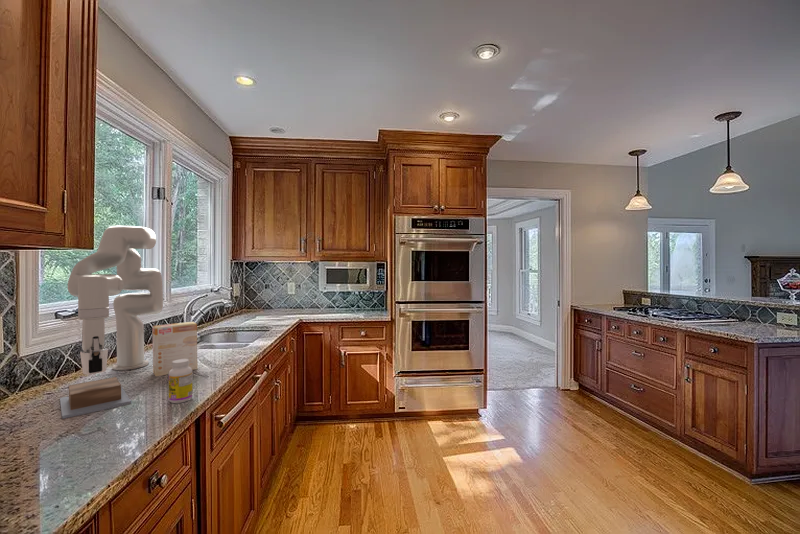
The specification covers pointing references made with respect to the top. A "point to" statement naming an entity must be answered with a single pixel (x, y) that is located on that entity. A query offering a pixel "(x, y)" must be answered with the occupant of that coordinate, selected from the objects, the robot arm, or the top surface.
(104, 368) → the white tapered cup
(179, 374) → the supplement bottle
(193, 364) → the coffeecake box
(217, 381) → the top surface
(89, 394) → the walnut plinth
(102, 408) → the slate gray board
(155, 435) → the top surface
